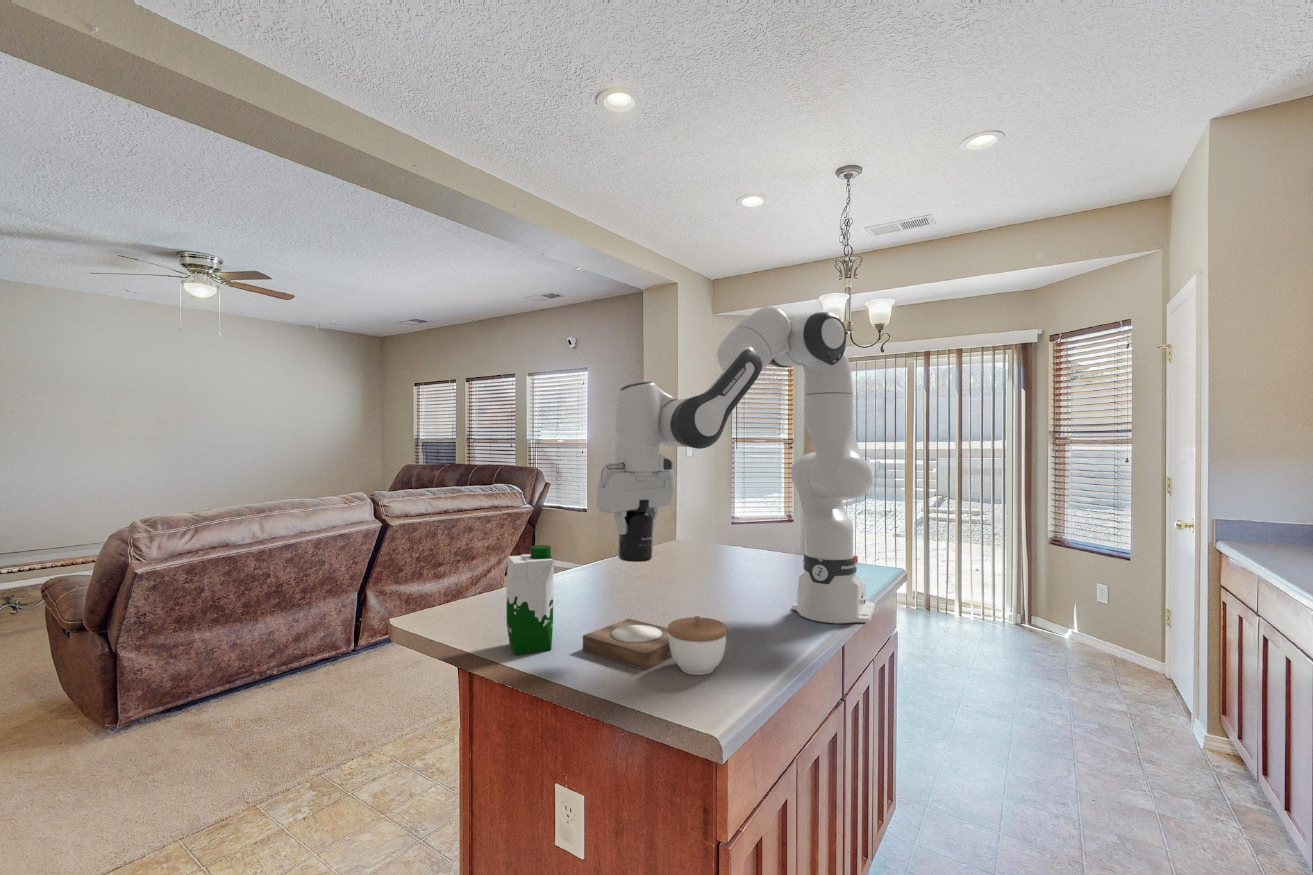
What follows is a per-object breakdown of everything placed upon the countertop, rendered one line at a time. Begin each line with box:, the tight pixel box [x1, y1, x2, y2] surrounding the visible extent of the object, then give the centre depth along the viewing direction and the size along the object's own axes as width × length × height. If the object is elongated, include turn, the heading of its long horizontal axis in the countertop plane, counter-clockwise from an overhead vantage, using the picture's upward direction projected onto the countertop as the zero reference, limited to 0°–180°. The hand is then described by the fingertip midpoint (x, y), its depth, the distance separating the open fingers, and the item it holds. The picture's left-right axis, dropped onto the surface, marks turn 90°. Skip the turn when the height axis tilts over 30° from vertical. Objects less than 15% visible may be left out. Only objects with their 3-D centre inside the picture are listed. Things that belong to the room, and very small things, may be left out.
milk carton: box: [506, 544, 555, 656], centre depth 115 cm, size 9×9×20 cm
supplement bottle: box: [617, 500, 654, 563], centre depth 113 cm, size 7×7×12 cm
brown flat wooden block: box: [582, 618, 673, 671], centre depth 113 cm, size 14×16×3 cm
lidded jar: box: [667, 615, 728, 676], centre depth 104 cm, size 11×11×9 cm
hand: (636, 531), depth 113 cm, fingers closed on supplement bottle, 6 cm apart
